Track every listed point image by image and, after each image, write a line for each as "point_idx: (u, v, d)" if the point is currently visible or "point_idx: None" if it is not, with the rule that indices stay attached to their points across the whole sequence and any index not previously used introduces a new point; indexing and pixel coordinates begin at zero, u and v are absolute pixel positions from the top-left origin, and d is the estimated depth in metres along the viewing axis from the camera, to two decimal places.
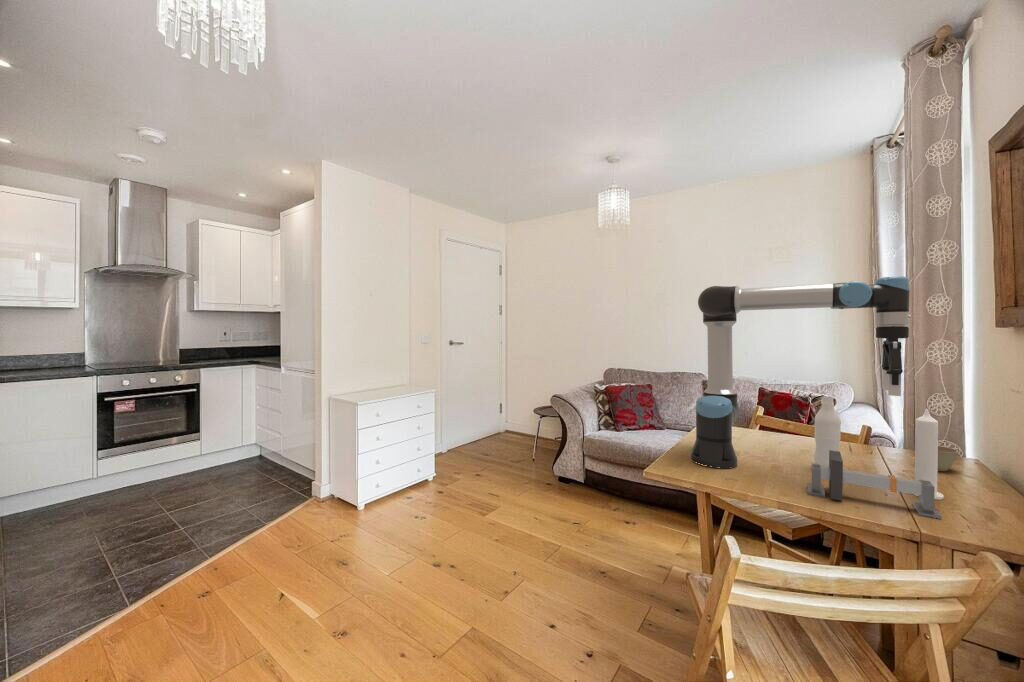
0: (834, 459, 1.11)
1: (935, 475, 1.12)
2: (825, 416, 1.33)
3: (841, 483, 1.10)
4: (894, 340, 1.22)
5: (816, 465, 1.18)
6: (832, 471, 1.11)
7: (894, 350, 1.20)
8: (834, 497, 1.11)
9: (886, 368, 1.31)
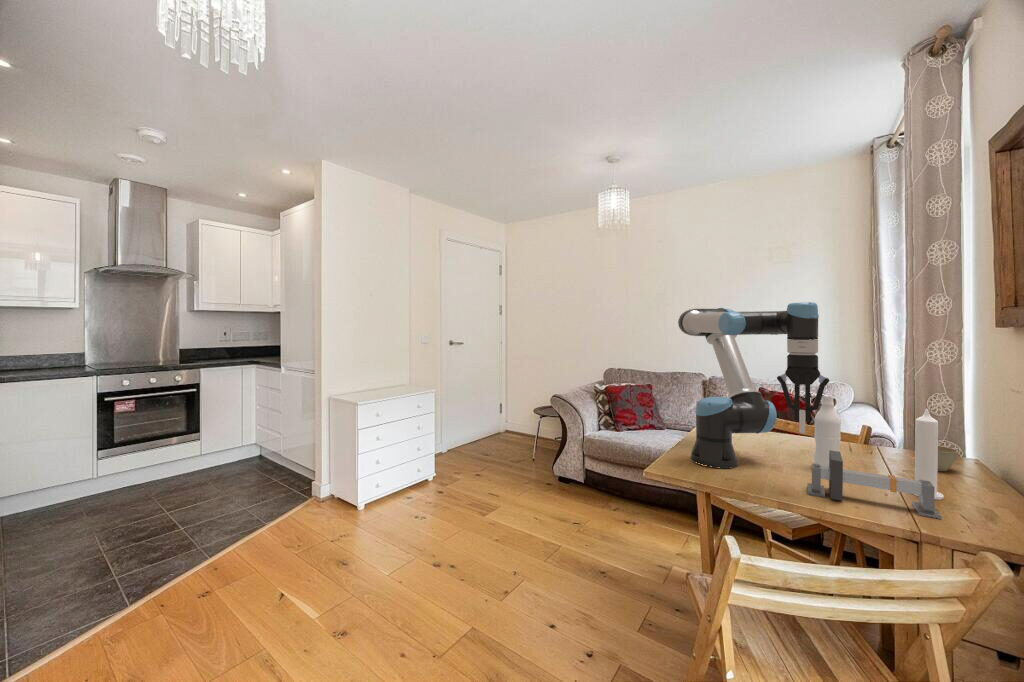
0: (834, 459, 1.11)
1: (935, 475, 1.12)
2: (825, 416, 1.33)
3: (841, 483, 1.10)
4: None
5: (816, 465, 1.18)
6: (832, 471, 1.11)
7: None
8: (834, 497, 1.11)
9: None
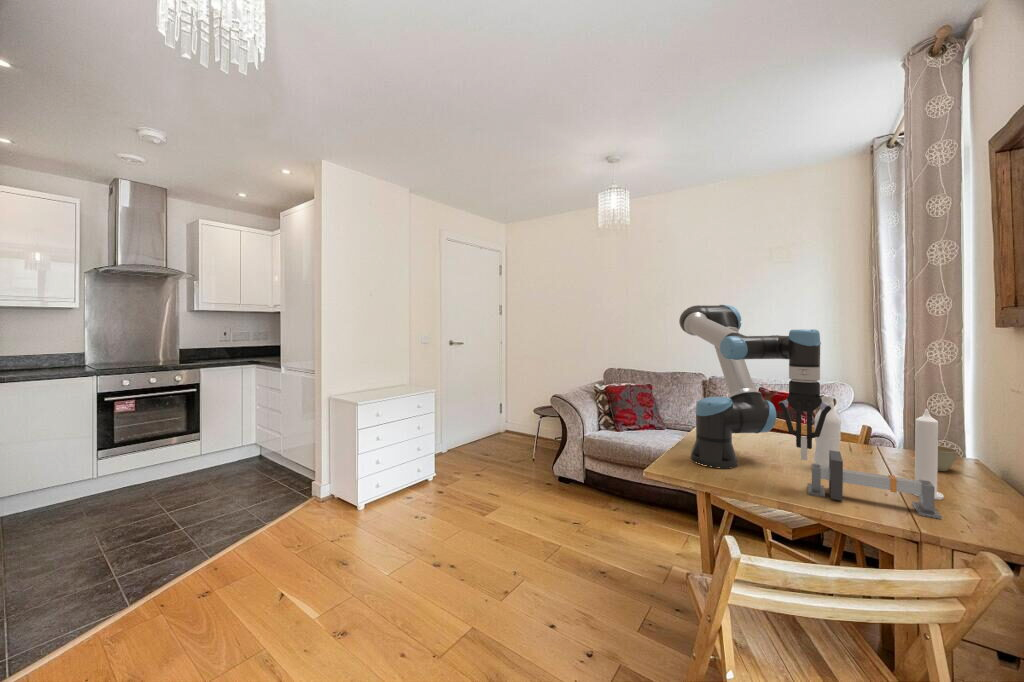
0: (834, 459, 1.11)
1: (935, 475, 1.12)
2: None
3: (841, 483, 1.10)
4: None
5: (816, 465, 1.18)
6: (832, 471, 1.11)
7: None
8: (834, 497, 1.11)
9: None
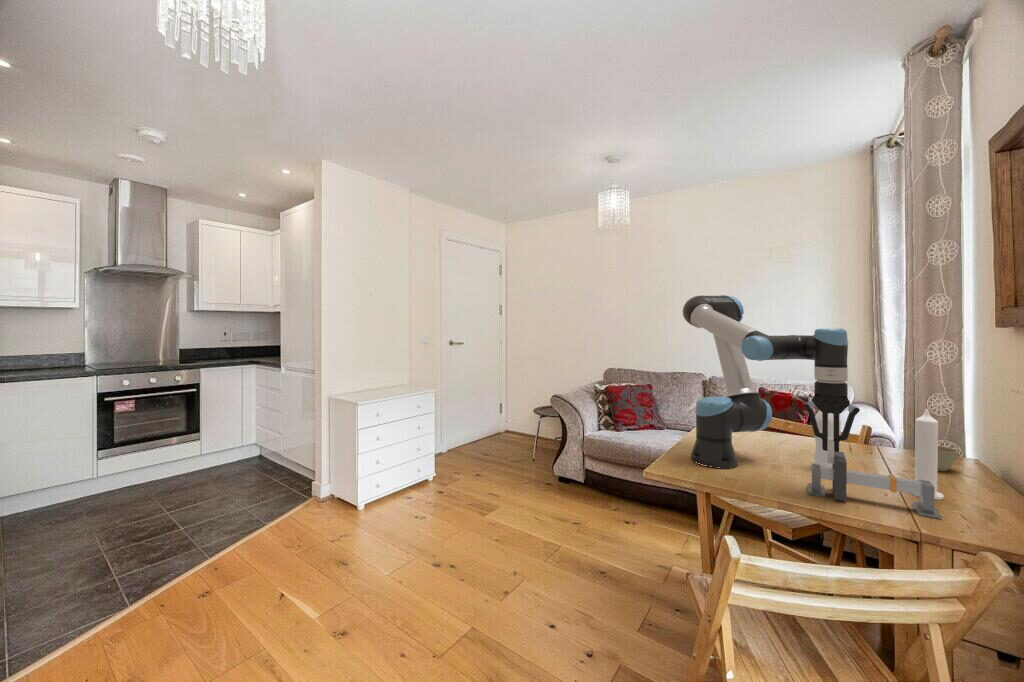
0: (838, 460, 1.11)
1: (935, 475, 1.12)
2: None
3: (845, 483, 1.09)
4: None
5: (816, 465, 1.18)
6: (836, 472, 1.11)
7: (808, 412, 1.18)
8: (838, 498, 1.10)
9: None
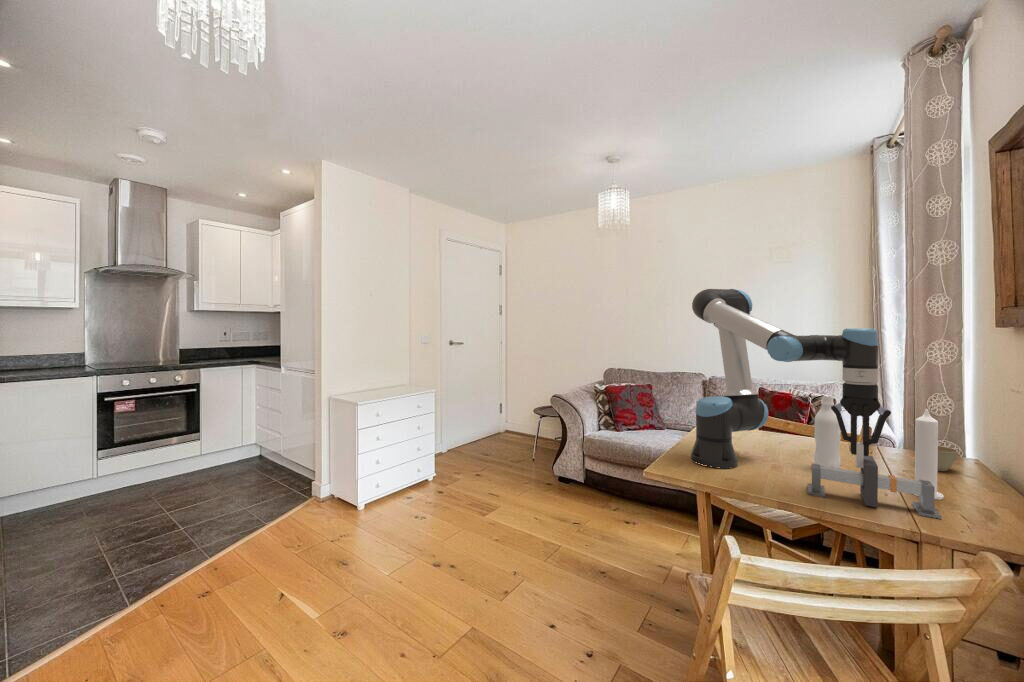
0: (868, 464, 1.07)
1: (935, 475, 1.12)
2: (825, 416, 1.33)
3: (876, 489, 1.06)
4: None
5: (816, 465, 1.18)
6: (866, 476, 1.07)
7: None
8: (868, 503, 1.07)
9: None
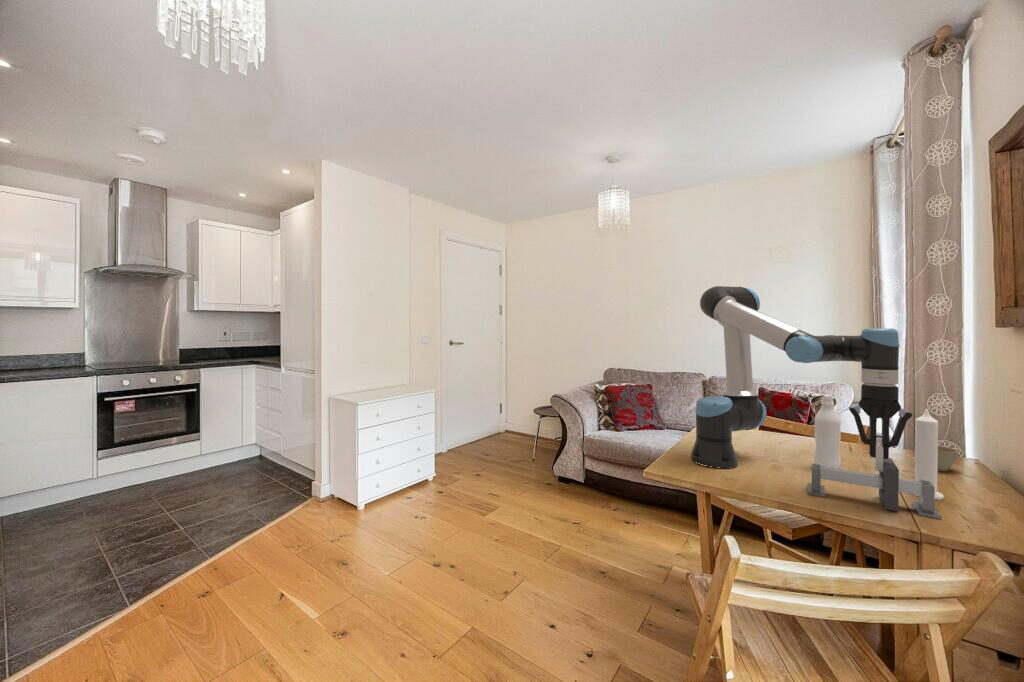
0: (888, 467, 1.05)
1: (935, 475, 1.12)
2: (825, 416, 1.33)
3: (897, 492, 1.03)
4: None
5: (816, 465, 1.18)
6: (887, 480, 1.04)
7: (854, 417, 1.12)
8: (889, 507, 1.04)
9: (882, 444, 1.09)
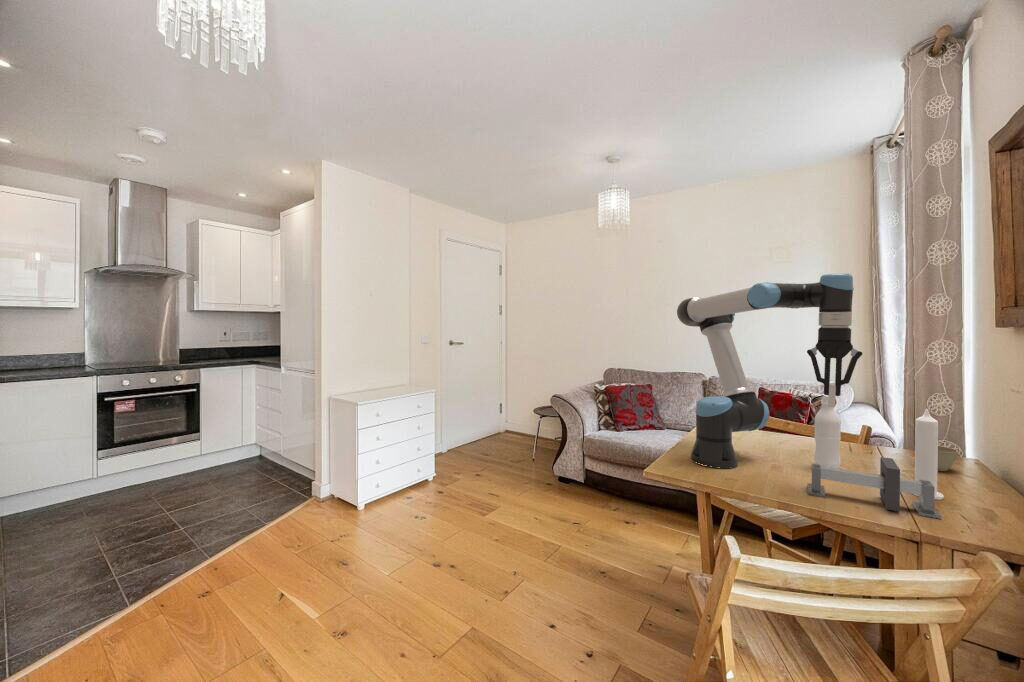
0: (890, 467, 1.05)
1: (935, 475, 1.12)
2: (825, 416, 1.33)
3: (898, 492, 1.03)
4: None
5: (816, 465, 1.18)
6: (888, 480, 1.04)
7: None
8: (890, 508, 1.04)
9: (835, 382, 1.17)
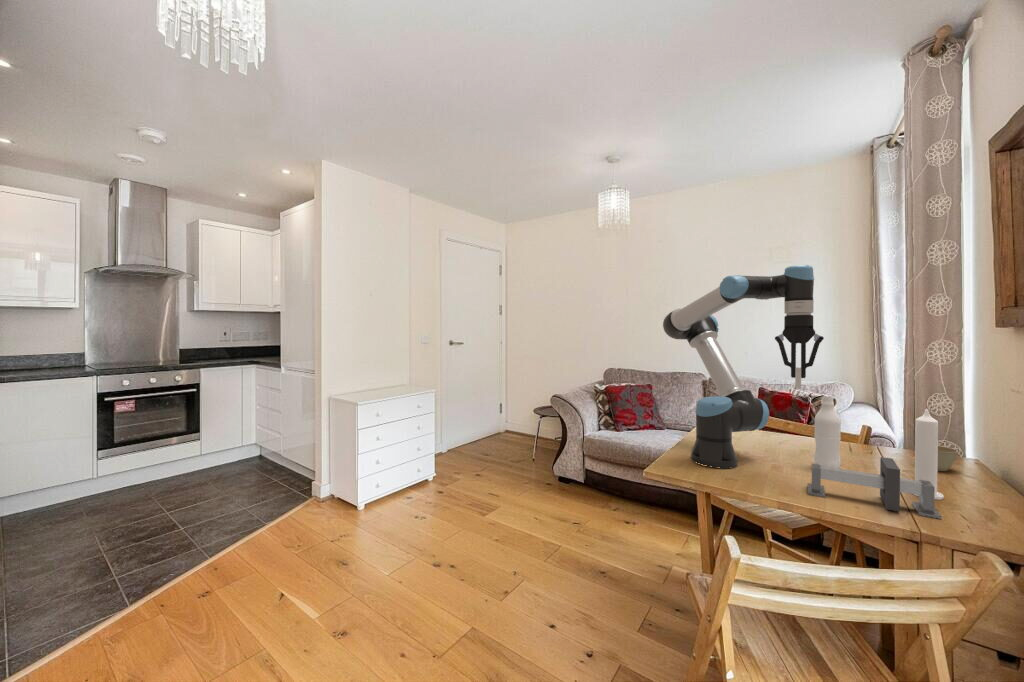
0: (890, 467, 1.05)
1: (935, 475, 1.12)
2: (825, 416, 1.33)
3: (898, 492, 1.03)
4: None
5: (816, 465, 1.18)
6: (888, 480, 1.04)
7: (779, 344, 1.30)
8: (890, 508, 1.04)
9: None
